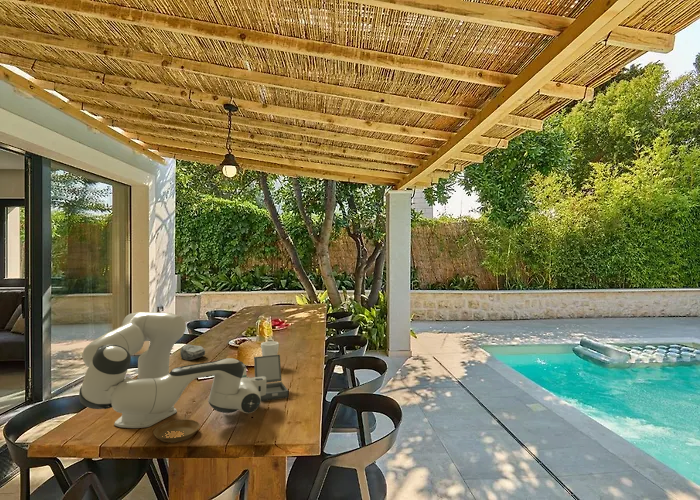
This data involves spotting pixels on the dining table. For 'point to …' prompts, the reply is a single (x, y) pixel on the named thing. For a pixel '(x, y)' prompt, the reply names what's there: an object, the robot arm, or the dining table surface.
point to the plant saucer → (177, 425)
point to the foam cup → (269, 348)
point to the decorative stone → (192, 352)
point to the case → (275, 391)
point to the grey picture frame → (268, 367)
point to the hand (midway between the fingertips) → (239, 379)
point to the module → (244, 371)
